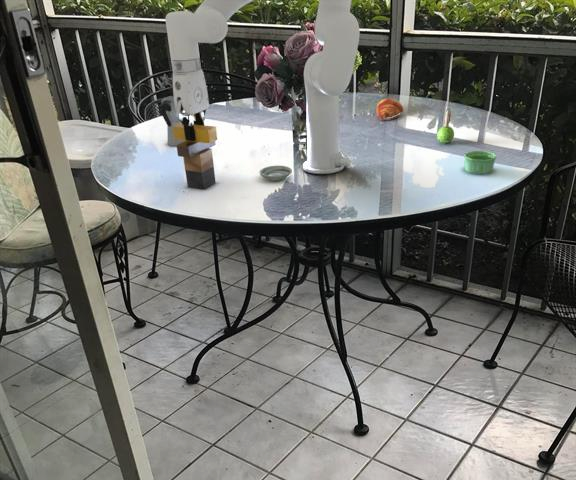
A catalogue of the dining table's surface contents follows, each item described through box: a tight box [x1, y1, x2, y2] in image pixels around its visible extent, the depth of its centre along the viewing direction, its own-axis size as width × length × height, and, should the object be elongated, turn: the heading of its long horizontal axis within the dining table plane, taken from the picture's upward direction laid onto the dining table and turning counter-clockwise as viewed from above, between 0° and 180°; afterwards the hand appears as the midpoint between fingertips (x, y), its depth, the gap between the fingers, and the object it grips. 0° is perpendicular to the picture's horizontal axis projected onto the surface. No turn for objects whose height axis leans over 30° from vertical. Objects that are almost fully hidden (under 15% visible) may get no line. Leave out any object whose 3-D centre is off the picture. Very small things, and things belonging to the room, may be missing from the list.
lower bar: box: [176, 140, 216, 158], centre depth 173 cm, size 13×4×3 cm, turn 152°
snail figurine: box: [436, 106, 455, 145], centre depth 199 cm, size 5×6×12 cm
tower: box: [182, 147, 216, 190], centre depth 177 cm, size 6×6×10 cm
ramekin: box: [463, 150, 497, 175], centre depth 179 cm, size 9×9×4 cm
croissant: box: [375, 97, 404, 121], centre depth 233 cm, size 21×10×8 cm, turn 159°
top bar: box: [173, 123, 218, 143], centre depth 171 cm, size 12×4×4 cm, turn 62°
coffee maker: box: [160, 87, 185, 148], centre depth 211 cm, size 15×9×18 cm, turn 161°
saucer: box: [258, 165, 293, 182], centre depth 181 cm, size 10×10×2 cm
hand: (195, 137), depth 172 cm, fingers closed on top bar, 4 cm apart
